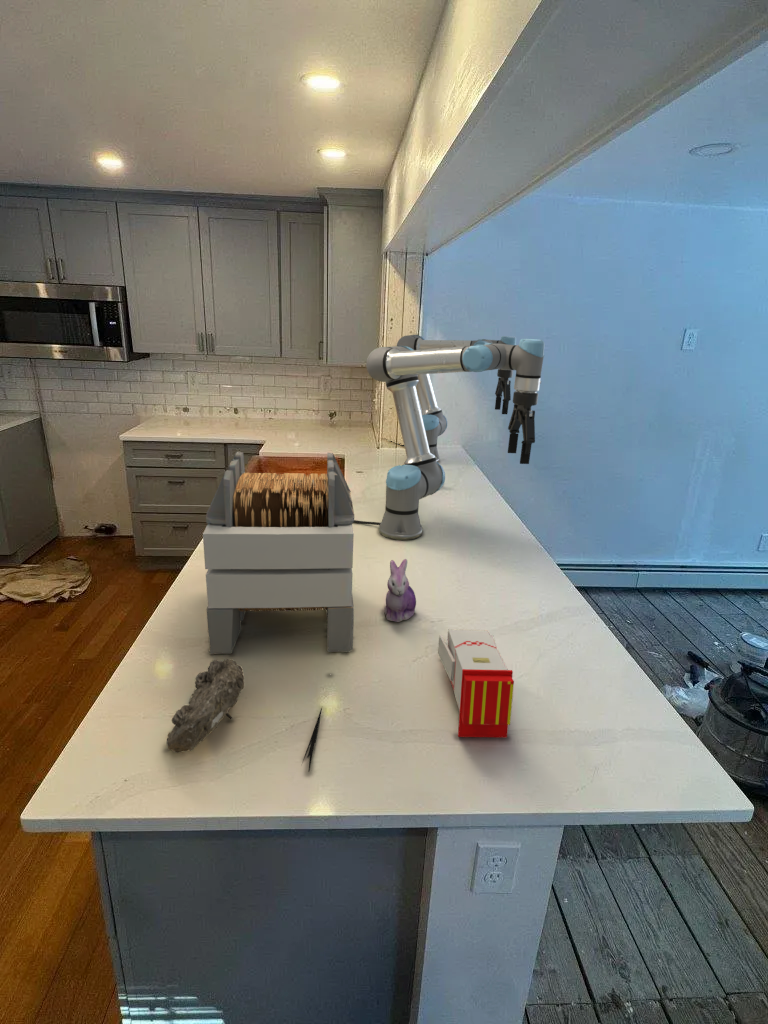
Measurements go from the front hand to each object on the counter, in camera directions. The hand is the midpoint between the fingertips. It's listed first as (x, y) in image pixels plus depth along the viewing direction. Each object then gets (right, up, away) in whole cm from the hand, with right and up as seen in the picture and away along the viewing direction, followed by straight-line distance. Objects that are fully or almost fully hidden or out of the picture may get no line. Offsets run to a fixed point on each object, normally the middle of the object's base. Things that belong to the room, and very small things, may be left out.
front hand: (517, 458), depth 182 cm
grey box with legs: (-68, -44, -39) cm, 90 cm away
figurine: (-39, -44, -35) cm, 68 cm away
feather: (-55, -57, -74) cm, 109 cm away
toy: (-25, -55, -64) cm, 88 cm away
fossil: (-76, -56, -74) cm, 120 cm away
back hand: (+16, +34, +106) cm, 113 cm away
